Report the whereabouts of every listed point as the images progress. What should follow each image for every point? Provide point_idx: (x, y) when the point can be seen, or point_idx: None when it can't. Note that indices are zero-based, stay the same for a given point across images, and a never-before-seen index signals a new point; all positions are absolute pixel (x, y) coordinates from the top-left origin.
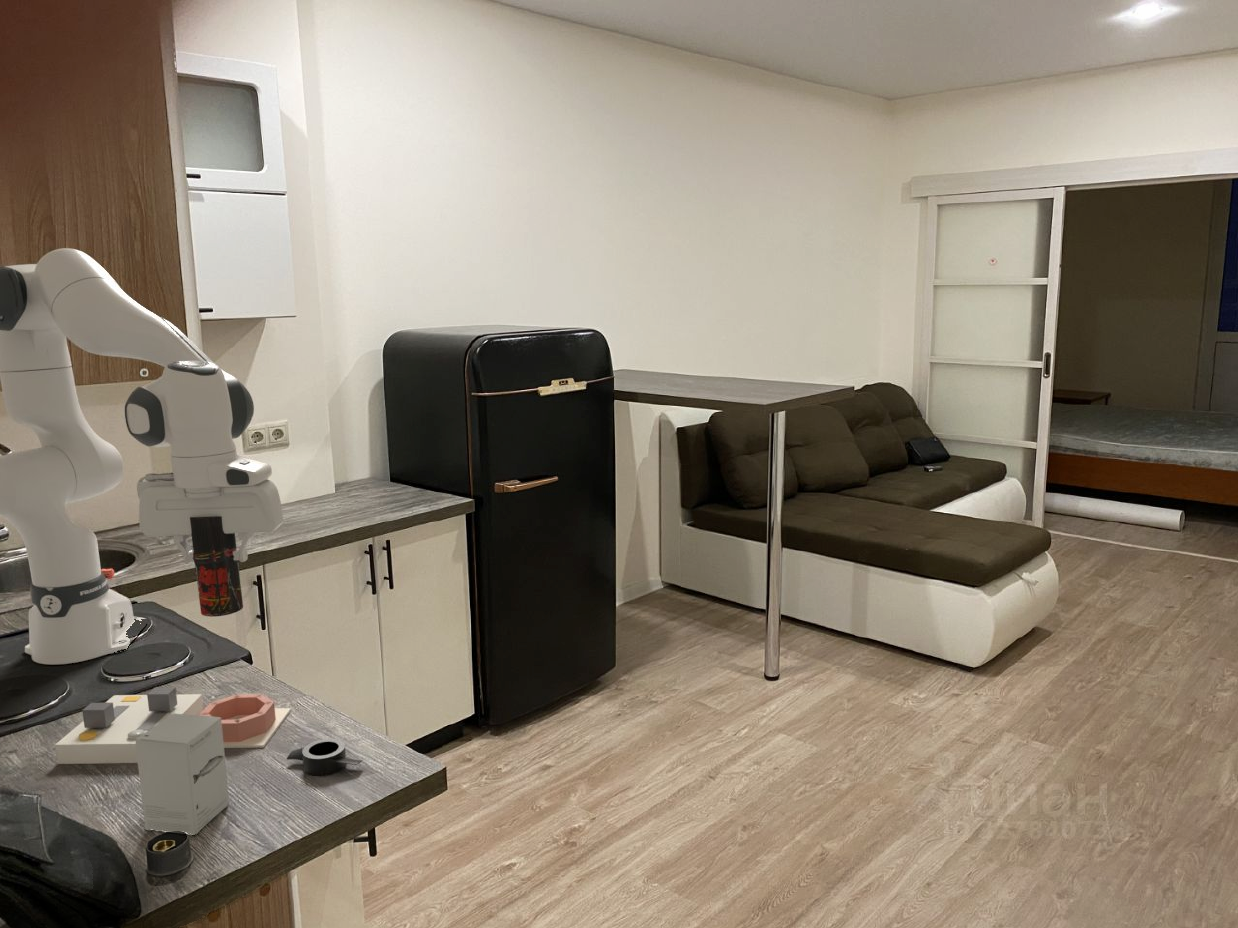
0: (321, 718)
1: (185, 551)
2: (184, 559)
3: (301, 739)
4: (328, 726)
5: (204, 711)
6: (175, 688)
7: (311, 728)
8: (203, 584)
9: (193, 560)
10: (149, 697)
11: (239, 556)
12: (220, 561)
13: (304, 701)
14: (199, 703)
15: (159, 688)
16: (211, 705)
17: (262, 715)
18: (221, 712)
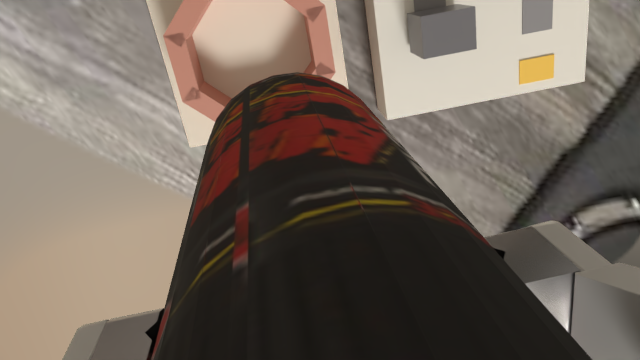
0: (99, 123)
1: (599, 276)
2: (568, 231)
3: (76, 21)
4: (56, 91)
5: (322, 25)
6: (423, 58)
7: (89, 75)
8: (340, 117)
9: (492, 243)
10: (466, 6)
11: (94, 343)
12: (209, 229)
13: (188, 188)
14: (381, 99)
15: (461, 45)
16: (324, 59)
17: (166, 31)
18: (308, 71)
